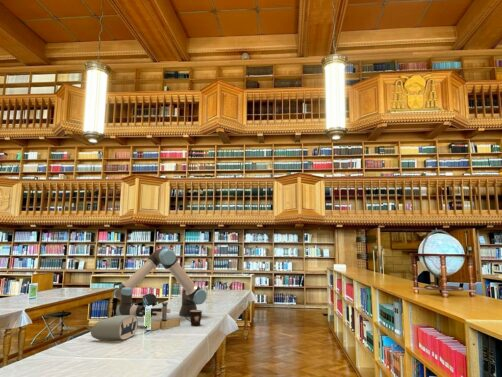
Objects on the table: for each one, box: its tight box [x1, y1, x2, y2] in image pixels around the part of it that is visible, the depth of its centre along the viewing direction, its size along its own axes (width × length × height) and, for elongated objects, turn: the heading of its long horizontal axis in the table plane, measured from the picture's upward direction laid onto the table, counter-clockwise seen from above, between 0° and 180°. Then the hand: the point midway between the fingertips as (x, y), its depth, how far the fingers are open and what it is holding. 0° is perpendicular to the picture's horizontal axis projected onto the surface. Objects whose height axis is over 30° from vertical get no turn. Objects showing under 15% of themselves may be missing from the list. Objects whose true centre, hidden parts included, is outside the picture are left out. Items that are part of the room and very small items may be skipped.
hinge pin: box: [161, 301, 169, 327], centre depth 259 cm, size 4×4×17 cm
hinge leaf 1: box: [150, 320, 169, 331], centre depth 254 cm, size 16×6×5 cm, turn 137°
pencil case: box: [90, 315, 139, 341], centre depth 230 cm, size 22×19×13 cm
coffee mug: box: [184, 309, 203, 327], centre depth 270 cm, size 12×9×10 cm
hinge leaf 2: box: [159, 317, 181, 330], centre depth 262 cm, size 16×6×5 cm, turn 137°
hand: (166, 312), depth 259 cm, fingers open, 13 cm apart
